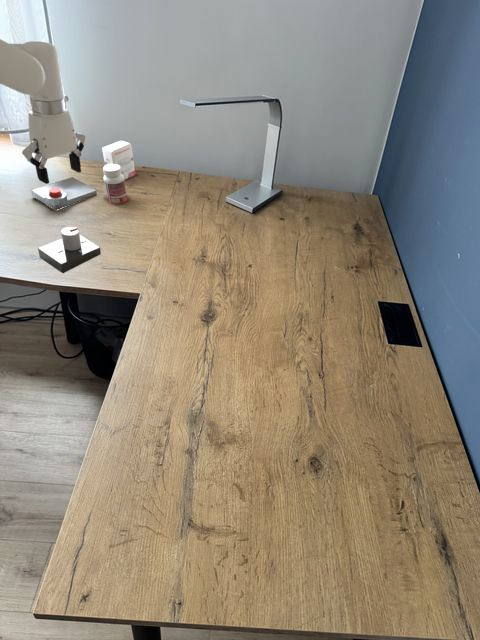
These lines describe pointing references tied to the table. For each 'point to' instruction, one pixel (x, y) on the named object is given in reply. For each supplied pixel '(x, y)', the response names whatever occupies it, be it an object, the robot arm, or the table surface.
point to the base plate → (68, 254)
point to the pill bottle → (114, 184)
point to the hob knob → (71, 238)
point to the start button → (55, 192)
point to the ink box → (120, 157)
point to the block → (64, 193)
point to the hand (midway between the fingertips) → (60, 176)
